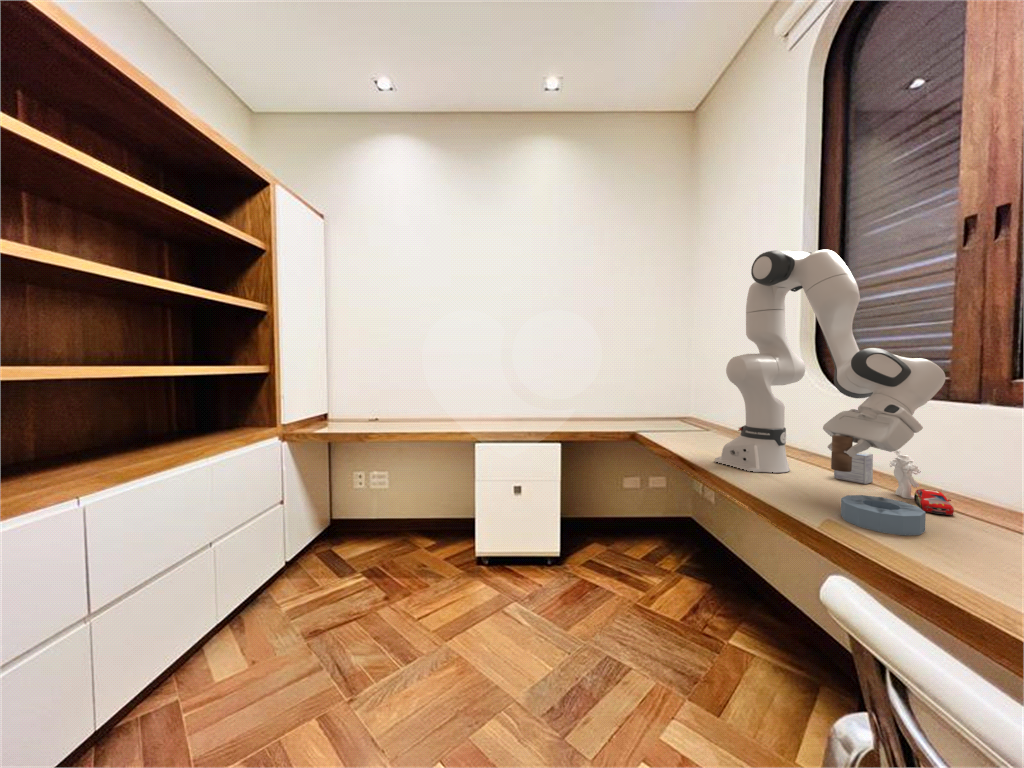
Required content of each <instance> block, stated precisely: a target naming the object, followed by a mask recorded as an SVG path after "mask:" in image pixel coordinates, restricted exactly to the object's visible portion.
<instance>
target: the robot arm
mask: <svg viewBox="0 0 1024 768" xmlns="http://www.w3.org/2000/svg"><path fill="white" fill-rule="evenodd" d="M750 271H751V272H750V273H751V278H752V279H753V280H754V282H753V283H751V285H750V286H749V289H748V292H747V298H746V305H745V335H746V337H747V339H748V340H749V341H751V342H753V343H754V344H755V346H756V347H757V349H758V351H759V353H744V354H739V355H736V356H734V357H732V358H731V359H729V361H728V363H727V365H726V369H725V372H726V377H727V379H728V380H729V382H731V384H733V385H735V387H737V388H738V391H739V392H740V394H741V395H742V398H743V401H744V407H745V409H744V411H745V424H744V425H743V426H740V427H738V430H737V431H738V432H740V435H739V436H737V437H735V438H733V439H732V440H730V441H728V442H726V444H724V445H723V448H722V450H721V451H722V452H721V456H718V457H716V458H715V459H714V463H716V462H718V463H717V464H719V463H722V464H721V465H723V464H726V465H725V466H727V465H730V466H729V467H731V466H733V467H732V468H734V467H737V468H736V469H738V468H740V469H739V470H742V469H744V470H743V471H746V470H747V471H746V472H750V471H753V472H754V473H772V472H773V473H774V474H775V473H776V474H777V473H787V472H789V471H791V468H790V466H789V463H788V462H789V461H788V458H787V452H786V444H787V430H786V429H787V428H786V427H785V404H784V402H783V401H782V400H780V399H778V398H777V397H776V396H775V395H774V393H773V391H772V387H771V386H773V387H774V386H787V385H791V384H795V383H798V382H800V381H801V380H802V379H803V377H804V376H805V372H806V365H805V362H804V359H802V358H801V357H800V356H799V355H797V353H796V352H794V351H793V349H792V347H791V345H790V343H789V340H788V337H787V333H786V305H785V300H786V296H787V294H788V292H789V291H791V292H798V291H800V290H802V289H803V291H804V293H805V296H806V298H807V300H808V303H809V304H810V307H811V308H812V311H813V312H814V315H815V318H816V320H817V322H818V324H819V326H820V330H821V332H822V335H823V338H824V340H825V342H826V346H827V349H828V352H829V354H830V357H831V360H832V362H833V366H834V367H833V368H834V374H833V375H834V376H833V383H834V386H835V389H837V391H839V393H841V394H842V395H843V396H846V397H849V398H852V399H865V398H866V399H865V400H864V401H863V402H862V403H861V404H860V405H858V407H857V409H854V408H852V409H850V410H843V411H840V412H839V413H836V415H835V416H833V417H832V418H831V419H829V420H828V421H826V423H824V424H823V426H822V430H823V431H824V432H825V433H827V435H829V437H831V438H832V436H833V435H842V436H850V437H853V443H855V444H854V445H852V447H847V448H846V449H845V450H844V453H845V454H846V455H847V456H850V457H854V456H855V455H856V454H857V453H860V452H865V451H867V450H869V449H870V448H874V449H879V450H881V451H885V452H890V453H892V452H895V451H896V450H897V451H899V450H900V449H901V448H902V447H904V446H906V444H907V443H908V442H909V441H910V440H911V439H912V438H913V437H914V436H915V434H917V433H919V432H920V431H922V430H923V429H924V427H923V425H922V424H921V423H920V422H919V421H918V420H917V419H916V418H915V417H914V413H915V411H916V410H917V409H919V408H921V407H922V406H924V405H926V404H927V403H928V402H929V401H930V400H932V399H933V397H935V395H937V393H938V392H939V391H940V390H941V389H942V387H943V386H944V384H945V382H946V374H945V371H944V370H943V369H942V368H941V367H940V366H939V365H938V364H936V363H935V362H933V361H931V360H929V359H926V358H922V357H919V358H918V357H916V358H914V357H913V358H912V357H906V356H900V355H897V354H894V353H891V352H890V351H888V350H885V349H883V348H878V347H868V348H864V349H861V350H860V348H859V346H858V343H857V341H856V339H855V336H854V333H853V323H854V318H855V314H856V312H857V308H858V306H859V304H860V300H861V296H860V295H861V294H860V290H859V289H860V288H859V286H858V283H857V281H856V279H855V277H854V276H853V273H852V272H851V270H850V269H849V267H848V266H847V265H846V262H845V261H844V260H843V259H842V258H841V257H840V255H838V254H837V253H836V252H835V251H833V250H830V249H820V250H816V251H813V252H810V251H807V252H806V251H801V250H793V249H792V250H778V249H777V250H770V251H769V250H768V251H765V252H762V253H761V254H759V255H758V256H757V257H756V258H755V259H754V261H753V263H752V266H751V270H750ZM827 448H828V450H830V452H832V441H831V442H830V443H829V444H828V445H827ZM753 472H752V473H753Z"/></svg>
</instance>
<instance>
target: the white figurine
mask: <svg viewBox="0 0 1024 768" xmlns="http://www.w3.org/2000/svg"><path fill="white" fill-rule="evenodd" d="M893 452H894V454H895V455H896V456H897V457H894V458H892V460H889V467H890V468H892V467H894V469H893V476H894V477H895V479H896V480H897V483H898V487H897V488H896V490H895V495H897V496H900V497H901V498H903V499H907V500H908V499H910V500H911V499H912V500H913V499H914V495H912V487H913V488H916V489H917V488H919V487H920V484H919V483H918V481H917V480H915V478H914V476H913V474H914V475H918V474H921V468H919V466H917V464H916V463H913V462H915V460H914V459H912V457H911V456H910V455H908V454H901V451H900V450H896V451H893ZM914 500H915V499H914Z"/></svg>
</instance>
